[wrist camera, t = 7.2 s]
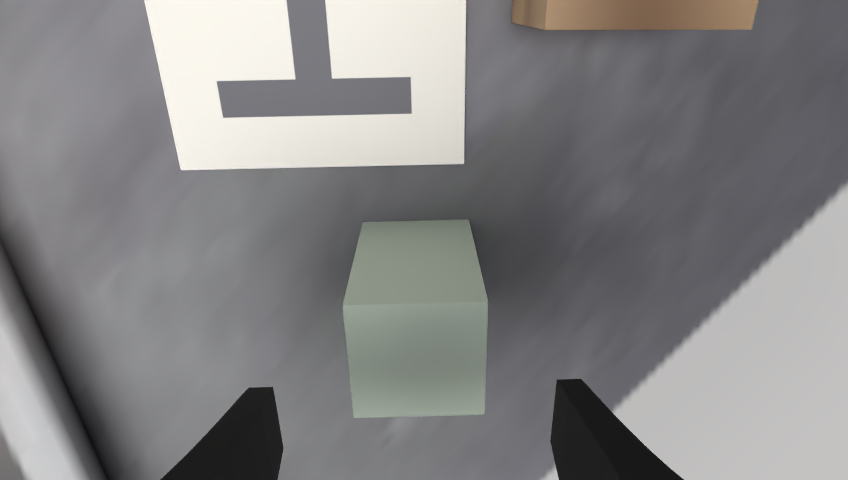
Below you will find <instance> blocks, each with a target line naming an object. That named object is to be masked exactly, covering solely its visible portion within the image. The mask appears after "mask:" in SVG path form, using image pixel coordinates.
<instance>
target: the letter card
mask: <svg viewBox="0 0 848 480" xmlns="http://www.w3.org/2000/svg"><path fill="white" fill-rule="evenodd" d="M144 1H145V5H146V10H147V15H148V19H149V24H150V29H151V33H152V38H153V43H154V47H155V52H156V57H157V61H158V66H159V71H160V75H161V80H162V85H163V89H164V94H165V99H166V103H167V108H168V112H169V117H170V122H171V126H172V131H173V136H174V140H175V145H176V150H177V154H178V159H179V164H180V168H181V170H209V169H254V168H300V167H345V166H390V165H435V164H464V128H465V49H466V0H144Z"/></svg>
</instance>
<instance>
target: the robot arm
mask: <svg viewBox="0 0 848 480" xmlns="http://www.w3.org/2000/svg"><path fill="white" fill-rule="evenodd" d="M551 446H552V450H553V455H554V460H555V464H556V468H557V473H558V477H559V480H684V479H682V478H681V477H680V476H679V475H677V474H676V473H675V472H674V471H673V470H671V469H670V468H669V467H668V466H667V465H666V464H664V463H663V462H662V461H661V460H660V459H659V458H658V457H657V456H656V455H654V454H653V453H652V452H651V451H650V450H649V449H648V448H647V447H646V446H645V445H644V444H643V443H642V442H641V441H640V440H639V439H638V438H637V437H636V436H635V435H634V434H633V433H632V432H631V431H630V430H629V429H628V428H627V427H626V426H625V425H624V424H623V423H622V422H621V421H620V420H619V419H618V418H617V417H616V416H615V415H614V414H613V413H612V412H611V411H610V410H609V409H608V408H607V407H606V405H605V404H604V403H603V402H602V401H601V400H600V399H599V398H598V397H597V396H596V395H595V393H594V392H593V391H592V390H591V389H590V388H589V387H588V386H587V385H586V384H585V383H584V382H583V381H582V380H581V379H565V380H557V384H556V393H555V403H554V412H553V422H552V432H551ZM282 453H283V443H282V437H281V431H280V426H279V420H278V414H277V408H276V402H275V396H274V390H273V387H259V388H248V389H247V390H246V391H245V392H244V393H243V394H242V395H241V397H240V398H239V399H238V400H237V401H236V402H235V403H234V404H233V405H232V407H231V408H230V409H229V410H228V411H227V412H226V413H225V414H224V416H223V417H222V418H221V419H220V420H219V421H218V422H217V423H216V424H215V425H214V426H213V428H212V429H211V430H210V431H209V432H208V433H207V434H206V435H205V436H204V437H203V438H202V439H201V440H200V441H199V442H198V443H197V444H196V446H195V447H194V448H193V449H192V450H191V451H190V452H189V453H188V454H187V455H186V456H185V457H184V458H183V459H182V460H181V461H180V462H178V463H177V464H176V465H175V466H174V467H173V468H172V469H171V470H170V471H169V472H168V473H167V474H166V475H165V476H164V477H163V478H162V479H161V480H277V479H278V474H279V469H280V463H281V458H282Z"/></svg>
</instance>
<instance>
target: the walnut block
mask: <svg viewBox="0 0 848 480" xmlns="http://www.w3.org/2000/svg"><path fill="white" fill-rule="evenodd" d="M758 1H759V0H513V3H512V19H511V22H512V23H516V24H521V25H525V26H530V27H534V28H539V29H543V30H724V29H752V26H753V22H754V18H755V14H756V9H757V5H758Z"/></svg>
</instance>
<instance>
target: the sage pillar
mask: <svg viewBox="0 0 848 480" xmlns="http://www.w3.org/2000/svg"><path fill="white" fill-rule="evenodd" d="M343 315H344V325H345V335H346V345H347V355H348V366H349V376H350V386H351V396H352V406H353V416H354V418H370V417H409V416H447V415H485V383H486V352H487V321H488V299H487V295H486V291H485V286H484V282H483V278H482V274H481V269H480V265H479V261H478V257H477V253H476V248H475V244H474V240H473V236H472V231H471V227H470V223H469V219H464V220H425V221H387V222H363V223H362V227H361V231H360V235H359V240H358V244H357V248H356V252H355V256H354V260H353V264H352V268H351V273H350V277H349V281H348V285H347V289H346V293H345V297H344V301H343Z"/></svg>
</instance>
